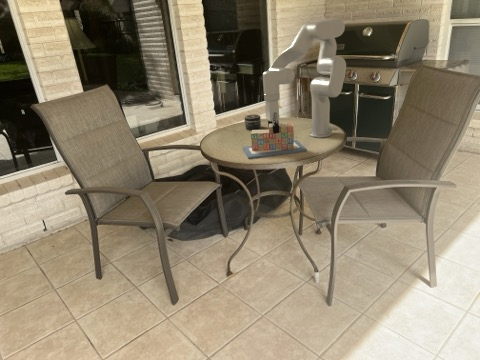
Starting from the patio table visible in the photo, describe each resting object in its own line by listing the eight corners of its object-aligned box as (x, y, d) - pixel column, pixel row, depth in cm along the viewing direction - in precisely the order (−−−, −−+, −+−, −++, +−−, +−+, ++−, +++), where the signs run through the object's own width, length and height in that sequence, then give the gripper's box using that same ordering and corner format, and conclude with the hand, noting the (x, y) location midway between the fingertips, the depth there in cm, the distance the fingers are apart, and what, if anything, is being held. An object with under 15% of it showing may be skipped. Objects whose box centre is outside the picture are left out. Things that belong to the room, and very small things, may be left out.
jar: (255, 125, 237) (254, 113, 234) (264, 128, 229) (263, 116, 226) (242, 128, 233) (241, 116, 230) (250, 131, 225) (249, 119, 222)
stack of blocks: (251, 150, 189) (250, 127, 184) (252, 146, 195) (251, 124, 190) (293, 149, 186) (293, 125, 181) (293, 145, 192) (293, 122, 187)
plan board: (297, 141, 200) (297, 139, 200) (306, 151, 186) (306, 149, 185) (242, 148, 197) (242, 146, 196) (248, 158, 182) (248, 156, 182)
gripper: (260, 94, 188) (262, 126, 195) (268, 101, 172) (270, 136, 179) (274, 92, 188) (276, 124, 196) (284, 99, 173) (285, 134, 180)
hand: (273, 130), depth 187 cm, fingers open, 9 cm apart
